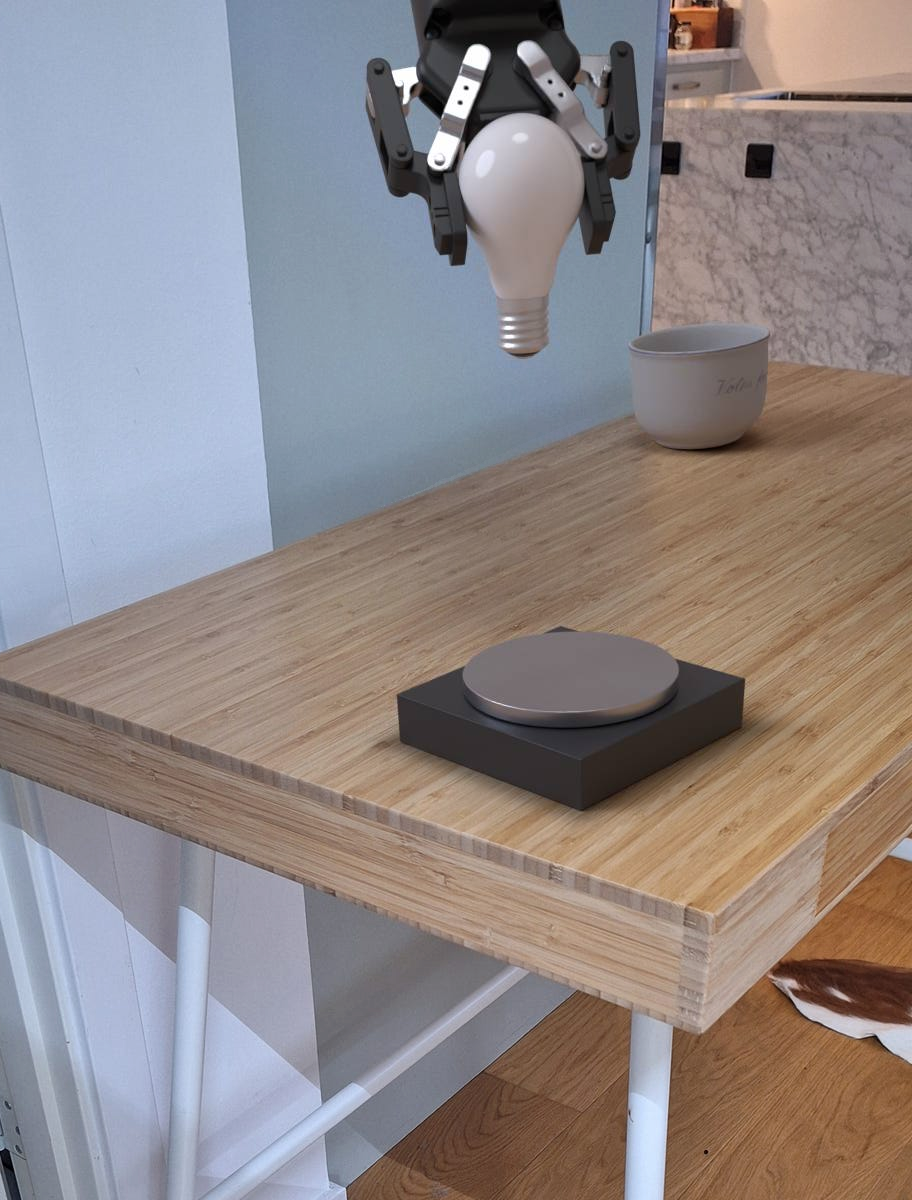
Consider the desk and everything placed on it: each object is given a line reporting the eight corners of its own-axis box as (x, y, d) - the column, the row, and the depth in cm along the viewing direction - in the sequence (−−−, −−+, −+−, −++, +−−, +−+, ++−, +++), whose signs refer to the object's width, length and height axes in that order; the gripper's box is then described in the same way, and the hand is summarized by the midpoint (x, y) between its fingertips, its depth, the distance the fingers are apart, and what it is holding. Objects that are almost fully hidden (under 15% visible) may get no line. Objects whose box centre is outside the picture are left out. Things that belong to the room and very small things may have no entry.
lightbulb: (448, 370, 76) (436, 121, 70) (484, 345, 81) (475, 110, 75) (567, 371, 74) (566, 115, 68) (596, 345, 79) (598, 104, 73)
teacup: (735, 462, 112) (743, 349, 108) (605, 452, 117) (606, 343, 112) (792, 421, 122) (801, 315, 117) (670, 412, 127) (674, 310, 122)
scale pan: (561, 631, 77) (561, 616, 77) (722, 678, 71) (723, 662, 70) (419, 691, 72) (418, 675, 71) (580, 747, 65) (580, 730, 65)
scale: (560, 670, 80) (560, 625, 78) (742, 726, 72) (746, 678, 71) (399, 741, 73) (395, 693, 72) (581, 811, 66) (581, 759, 64)
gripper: (340, -96, 72) (389, 206, 69) (627, -114, 73) (686, 181, 70) (339, 34, 79) (383, 311, 76) (600, 15, 80) (652, 287, 78)
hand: (528, 248), depth 73 cm, fingers closed on lightbulb, 6 cm apart
